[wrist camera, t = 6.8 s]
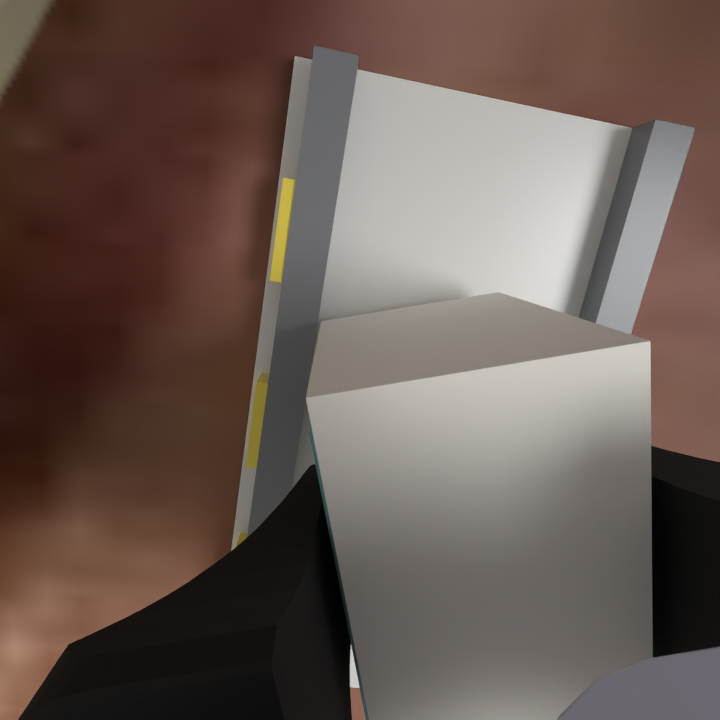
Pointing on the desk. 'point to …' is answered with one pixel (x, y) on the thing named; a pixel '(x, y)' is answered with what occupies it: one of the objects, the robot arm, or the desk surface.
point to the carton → (485, 503)
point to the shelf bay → (437, 228)
